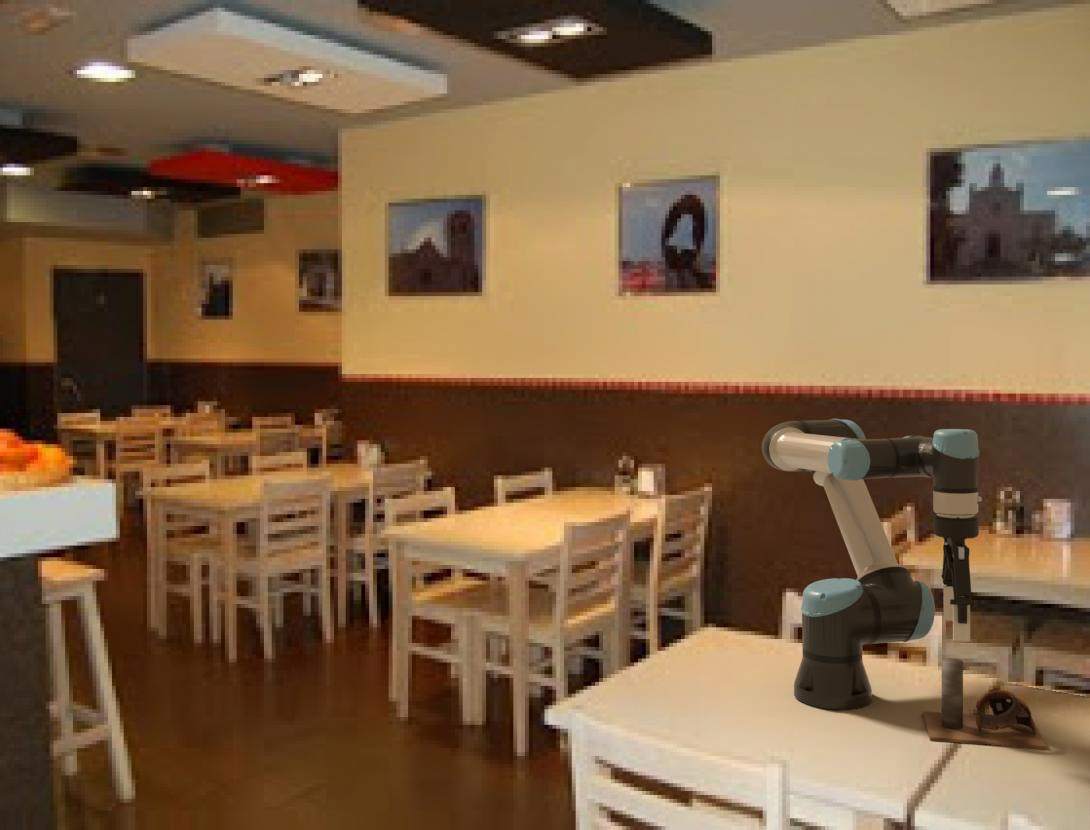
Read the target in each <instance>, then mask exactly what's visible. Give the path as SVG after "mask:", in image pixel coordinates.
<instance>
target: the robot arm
mask: <svg viewBox="0 0 1090 830" xmlns="http://www.w3.org/2000/svg"><path fill="white" fill-rule="evenodd" d="M978 439H979V437H978V433H977V431H974V430H972V429H967V428H966V429H965V428H964V429H963V428H943V429H941V428H940V429H937V430H935V431H934V433H933V437H928V436H927V437H926V436H923V435H906V436H904V437H896V438H895V437H893V438H868V439H867V438H866V436H865V433H864V432H863V430H862V429H861V427H860V426H859V425H858V424H857V423H855V422H854V421H853V420H850V419H839V418H830V419H828V420H827V419H825V420H819V419H816V420H790V421H784V422H781V423H778V424H777V425H774V426H773V427H771V428H770V429H769V430H768V431H767V432H766V433H765V436H764V437H763V440H762V442H761V451H762V456H763V458H764V460H765V461H766V463H767V464H768V465H769V466H771V467H772V468H774V469H776V470H779V471H784V472H793V473H794V472H798V473H799V472H810V473H811V476H812V478H813V481H814V482H815V484H816V485H818V486H820V487H823V489H824V491H825V493H826V495H827V499H828V502H829V504H830V507H831V509H832V513H833V515H834V517H835V520H836V522H837V526H838V528H839V531H840V534H841V537H842V538H843V541H844V544H845V546H846V549H847V551H848V555H849V557H850V560H851V562H852V565H853V568H854V570H855V573H856V575H857V578H856V579H854V578H850V577H849V578H845V577H843V578H842V577H841V578H837V577H834V578H826V579H825V578H824V579H821V580H817V581H814V582H812V583H810V584H808V585H807V586H806V587H805V588H804V590H803V592H802V597H801V598H802V600H801V608H800V609H801V632H802V639H801V641H802V644H801V645H802V657H801V661H800V664H799V667H798V670H797V673H796V677H795V680H794V683H793V696H794V697H795V698H796V699H797V700H798V701H799V702H802V703H804V704H805V705H808V706H812V707H816V708H821V709H827V710H828V709H829V710H840V711H841V710H842V711H843V710H854V709H859V708H860V709H861V708H863V707H866V706H868V705H870V704H871V703H872V701H873V700H872V699H873V697H872V696H873V695H872V694H873V691H872V690H873V688H872V686H871V683H870V679H869V677H868V674H867V671H866V667H865V665H864V664H865V663H864V662H863V645H873V644H874V645H875V644H885V643H898V642H903V643H907V642H909V641H913V640H915V641H916V640H920V639H923V638H925V637H926V636H927V635H928V634H929V633H930V632H931V630H932V627H933V626H934V622H935V616H936V606H935V599H934V595H933V592H932V590H931V588H930V587H929V586H928V585H927V584H926V583H925V582H923V581H920V580H915V581H914V580H913V577H912V575H911V572H910V569H908V567H906V566H905V565H902V564H899V563H898V560H897V558H896V556H895V553H894V551H893V549H892V546H891V543H890V541H889V539H888V536H887V534H886V532H885V529H884V527H883V526H884V525H883V524H882V521H881V520H880V517H879V515H878V512H877V509H876V507H875V504H874V502H873V499H872V497H871V494H870V492H869V490H868V487H867V485H866V483H865V481H864V480H872V479H893V478H895V479H896V478H899V479H900V478H914V477H917V478H918V477H920V478H921V477H922V478H923V477H924V478H931V479H933V491H932V494H933V496H932V498H933V499H932V507H933V508H932V510H933V512H934V513H935V515H934V516H933V534H934V536H936V537H939V538H943V545H942V551H943V552H942V553H943V559H942V572H941V578H942V583H943V586H942V587H943V588H942V590H943V591H942V592H943V593H942V594H943V597H942V598H943V610H942V611H943V616H942V617H943V622H952V640H953V641H956V642H971V605H972V604H973V598H972V596H973V595H972V585H971V584H972V583H971V582H972V581H971V570H970V552H971V551H970V548H969V547H968V546H967V544H966V540H967V539H969V540H970V539H975V538H977V537H978V536H979V533H980V532H979V531H980V530H979V529H980V528H979V527H980V524H979V521H980V519H979V517H978V516H977V514H978V513H979V504H978V503H980V502H982V501H983V498H982V496H979V481H980V480H979V478H980V477H979V476H980V475H979V468H980V466H979V465H980V462H979V461H980V449H979V440H978Z"/></svg>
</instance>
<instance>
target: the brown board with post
mask: <svg viewBox="0 0 1090 830" xmlns="http://www.w3.org/2000/svg"><path fill="white" fill-rule="evenodd" d="M976 716H977V714H967V713H966V714H965V713H964V662H963V660H960V659H958V658H942V659H941V712H940V711H938V712H937V711H936V712H935V711H924V710H923V711H922V717H923V721H924V724H925V729H926V731H927V734H928V738H929V741H934V742H935V741H936V742H937V741H938V742H947V743H956V744H957V743H960V744H973V745H983V744H988V745H987V746H995V745H1004V746H1003V747H1008V746H1015V747H1014V748H1020V747H1027V748H1026V749H1034V750H1046V751H1048V745H1047V743H1046V742H1045V740H1044V737H1043V736H1042V734H1041V733H1040V731H1039V729H1038V728H1037V726H1036V725H1035V729H1036V735H1034V734H1033V731H1032V729H1031V728H1030V727H1029V726H1025V725H1021V724H1017V725H1018V728H1016V727H1013V726H1011V727H1007V728H1004V729H1000V728H998V730H992V729H983V728H982V730H981V731H979V729H978V727H977V724H976ZM989 744H991V745H989Z"/></svg>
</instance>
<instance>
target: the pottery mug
mask: <svg viewBox="0 0 1090 830" xmlns="http://www.w3.org/2000/svg"><path fill="white" fill-rule="evenodd" d="M1008 700H1009V701H1008ZM986 703H988V705H989V707H990V708H991V710H992V714H987V713H985V712H983V711H982V708H983V706H984V705H986ZM975 708H976V715H977V716H976V724H977V727H978V729H979V731H981V730H982V728H983V729H992V730H998V728H1000V729H1004V728H1007V727H1011V726H1013V727H1016V728H1018V725H1017V724H1021V725H1025V726H1029V727H1030V728H1031V729H1032V731H1033V734H1034V735H1036V729H1035V726H1036V724H1035V721H1034V719H1033V717H1032V714H1031V713H1032V712H1031V710H1030V708H1029V706H1028V705H1027V703H1026V702H1024V701H1023V700H1022V699H1021V698H1018V697H1017V696H1016V695H1015V694H1014V693H1012V692H1010V691H1008V690H1004V689H999V688H993V689H991V690H990V691H988V692H987V693H985V694H983V695H982V696H980V697H979V699H978V700H977V701H976V704H975Z"/></svg>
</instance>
